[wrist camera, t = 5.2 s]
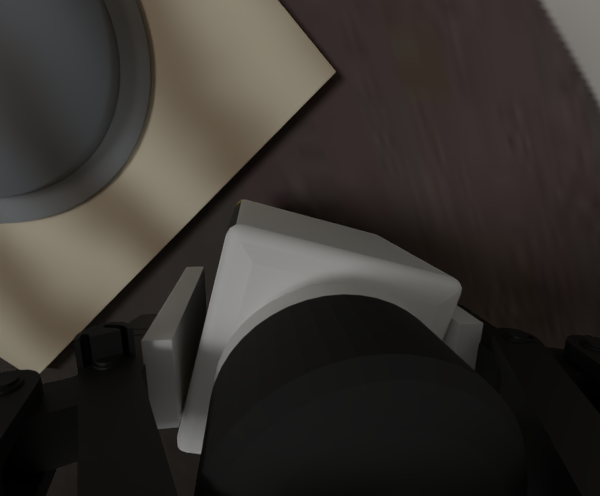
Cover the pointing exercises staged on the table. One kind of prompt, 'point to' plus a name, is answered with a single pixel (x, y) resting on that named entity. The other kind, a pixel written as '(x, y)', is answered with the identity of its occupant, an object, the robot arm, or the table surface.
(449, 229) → the table surface
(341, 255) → the medicine bottle
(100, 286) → the square wooden board
